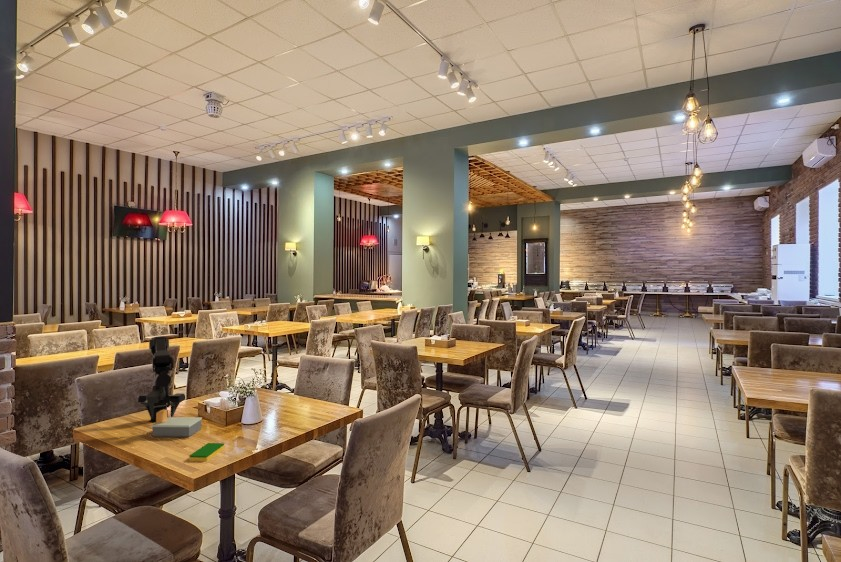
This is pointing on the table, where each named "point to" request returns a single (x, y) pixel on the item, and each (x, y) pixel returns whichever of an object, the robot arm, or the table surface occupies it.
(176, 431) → the tub
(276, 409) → the table surface
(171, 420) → the lid
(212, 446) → the dish sponge
